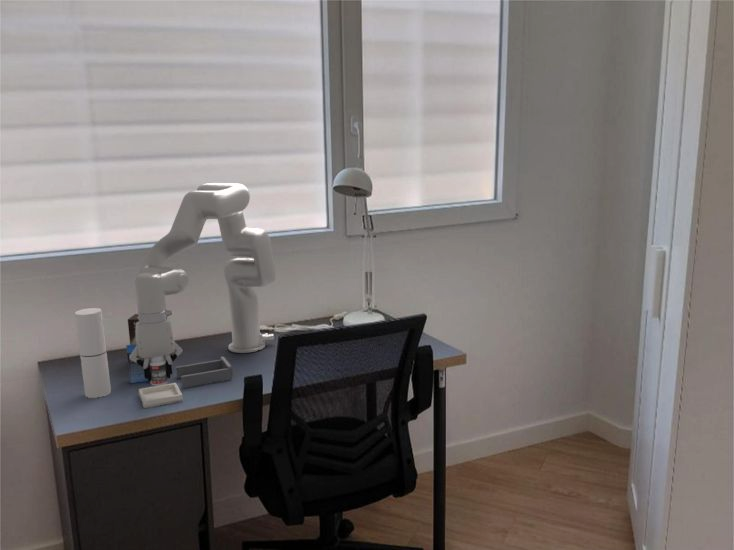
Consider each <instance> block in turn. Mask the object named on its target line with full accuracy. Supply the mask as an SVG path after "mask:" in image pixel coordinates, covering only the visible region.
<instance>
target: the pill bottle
mask: <svg viewBox="0 0 734 550" xmlns="http://www.w3.org/2000/svg"><path fill="white" fill-rule="evenodd" d="M149 359H150V362H149V368H150V377H151V381H150V382H149V383H150V385H151V386H159V385H165V384H168V378H167V369H166V361H167V360H166V359H165V356H158V357H153V358H149ZM164 359H165V360H164Z"/></svg>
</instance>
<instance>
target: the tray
mask: <svg viewBox="0 0 734 550" xmlns="http://www.w3.org/2000/svg"><path fill="white" fill-rule="evenodd" d="M138 396H139V399H140V401H142V402H141V403H142V406H143V409H149V407H150V408H155V407H160V405H161V406H165V404H166V405H171V404H177V403H182V402H183V400H184V399H183V393H182V391H181V390H180V388H179V386H178V384H177V382H172V383H165V384H163V385H153V386H149V387H142V388H138ZM154 406H155V407H154Z"/></svg>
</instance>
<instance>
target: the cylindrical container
mask: <svg viewBox="0 0 734 550" xmlns="http://www.w3.org/2000/svg"><path fill="white" fill-rule="evenodd" d="M74 315H75V324H76V330H77V331H76V333H77V341H78V348H79V357H80V366H81V374H82V380H83V389H84V396H85V398H87V397H88V398H89V399H98V398H97V397H100V398H103V397H102V396H104V397H106V396H108V395H110V394H111V393H112V390H111V381H110V380H111V379H110V371H109V362H108V354H107V345H106V337H105V328H104V320H103V312H102V309H101V308H99V307H91V308H90V307H89V308H82V309H79V310H77V311H75V312H74ZM88 398H87V399H88Z"/></svg>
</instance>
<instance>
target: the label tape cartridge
mask: <svg viewBox="0 0 734 550" xmlns="http://www.w3.org/2000/svg"><path fill="white" fill-rule="evenodd" d="M125 345H126V358H127V364H128V365H127V366H128V373H129V374H128V375H129V383H130V384H131V383H132V384H137V382H138V383H142V382H148V380H147V378H146V379H145V377H144V368H143V367H142V366H140V365H139V364H137V363H136V362H134V361H132V360H130V358H129V357H130V355H131V354H132V352H133V350H134V349H135V347H136V344H133V345H130V344H125ZM136 357H137V358H139V359H141V360H143V359H142V358H140V357H139V356H138V354H137V356H136ZM149 362H150V359H149ZM149 362H148V366H149Z"/></svg>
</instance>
